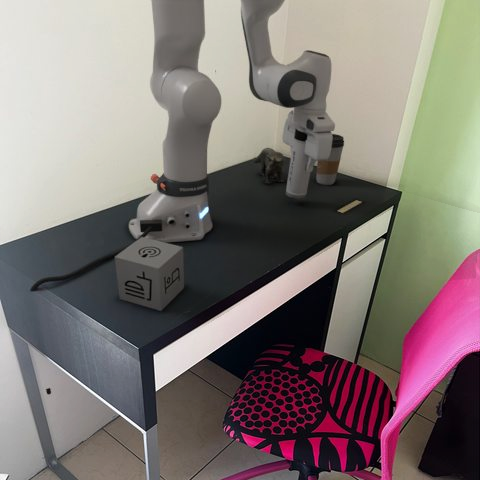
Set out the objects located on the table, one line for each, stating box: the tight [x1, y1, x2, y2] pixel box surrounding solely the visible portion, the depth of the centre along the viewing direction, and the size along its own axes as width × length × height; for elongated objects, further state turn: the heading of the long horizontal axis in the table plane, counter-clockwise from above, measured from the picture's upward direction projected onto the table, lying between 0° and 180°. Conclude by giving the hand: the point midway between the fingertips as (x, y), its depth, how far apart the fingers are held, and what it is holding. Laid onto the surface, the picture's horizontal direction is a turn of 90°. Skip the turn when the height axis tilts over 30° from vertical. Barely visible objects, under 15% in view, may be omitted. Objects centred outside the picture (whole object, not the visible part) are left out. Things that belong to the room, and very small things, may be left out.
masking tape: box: [337, 199, 362, 214], centre depth 148 cm, size 12×2×1 cm, turn 140°
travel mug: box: [285, 129, 311, 200], centre depth 141 cm, size 6×7×20 cm
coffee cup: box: [316, 133, 345, 186], centre depth 161 cm, size 8×8×15 cm
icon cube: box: [114, 237, 185, 312], centre depth 101 cm, size 10×10×10 cm
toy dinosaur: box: [252, 147, 286, 184], centre depth 162 cm, size 22×8×11 cm, turn 10°
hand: (301, 167), depth 142 cm, fingers closed on travel mug, 6 cm apart
